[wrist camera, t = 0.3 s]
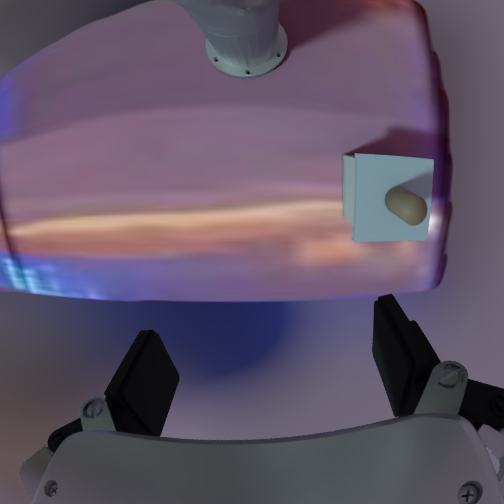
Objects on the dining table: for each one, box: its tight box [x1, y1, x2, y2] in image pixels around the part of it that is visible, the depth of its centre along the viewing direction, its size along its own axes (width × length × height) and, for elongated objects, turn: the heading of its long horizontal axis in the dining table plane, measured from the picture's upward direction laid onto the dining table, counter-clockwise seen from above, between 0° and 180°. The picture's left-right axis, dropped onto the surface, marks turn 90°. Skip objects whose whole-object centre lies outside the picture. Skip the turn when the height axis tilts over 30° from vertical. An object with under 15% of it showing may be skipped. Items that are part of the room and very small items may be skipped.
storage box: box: [343, 155, 355, 227], centre depth 38 cm, size 10×10×9 cm
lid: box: [352, 153, 434, 242], centre depth 31 cm, size 12×12×6 cm
